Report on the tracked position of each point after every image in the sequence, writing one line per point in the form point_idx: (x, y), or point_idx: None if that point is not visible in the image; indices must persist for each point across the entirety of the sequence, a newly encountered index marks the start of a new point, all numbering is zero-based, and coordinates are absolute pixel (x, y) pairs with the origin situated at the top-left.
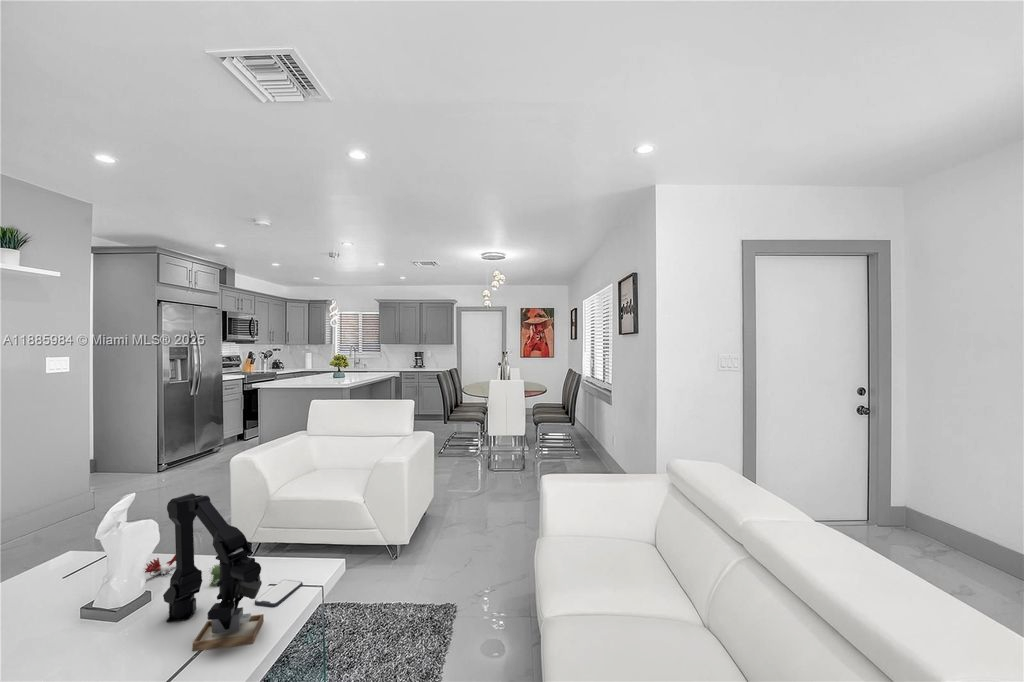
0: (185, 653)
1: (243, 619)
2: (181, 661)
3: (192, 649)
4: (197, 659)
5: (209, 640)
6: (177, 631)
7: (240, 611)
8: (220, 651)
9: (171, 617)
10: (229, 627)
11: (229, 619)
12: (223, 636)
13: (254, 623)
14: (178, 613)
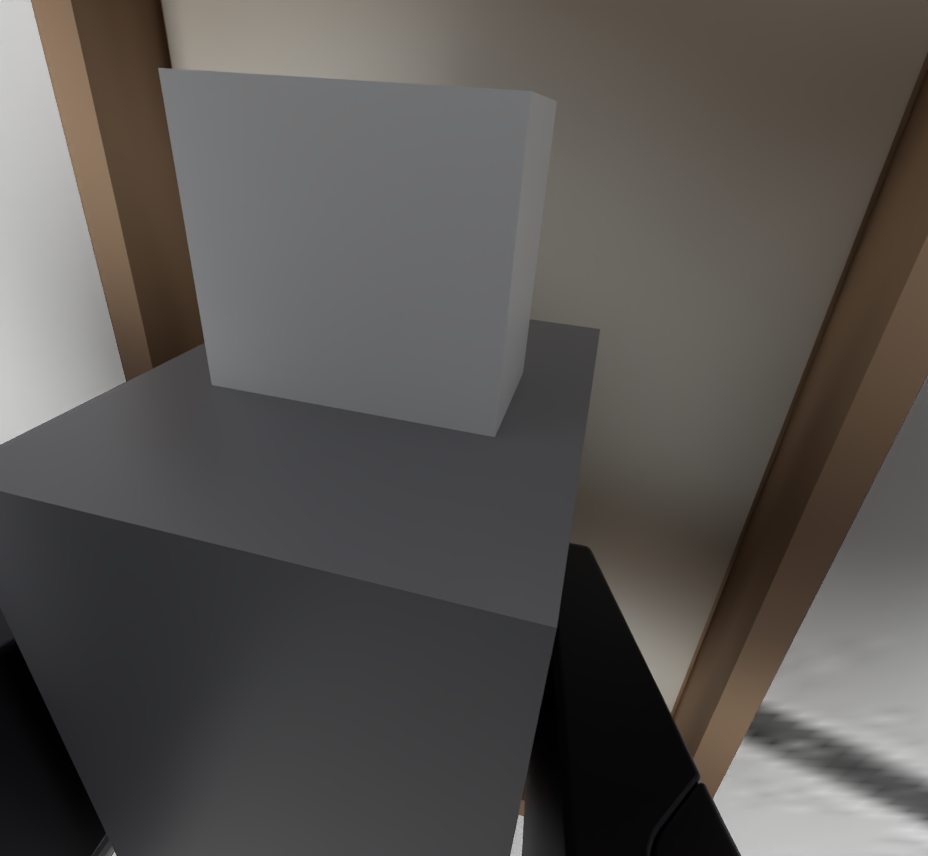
0: None
1: (513, 293)
2: (836, 831)
3: None
4: (914, 730)
5: (723, 733)
6: None
7: (268, 562)
8: (895, 509)
9: None
10: (581, 558)
11: (730, 849)
12: None
13: (250, 46)
14: (100, 848)
